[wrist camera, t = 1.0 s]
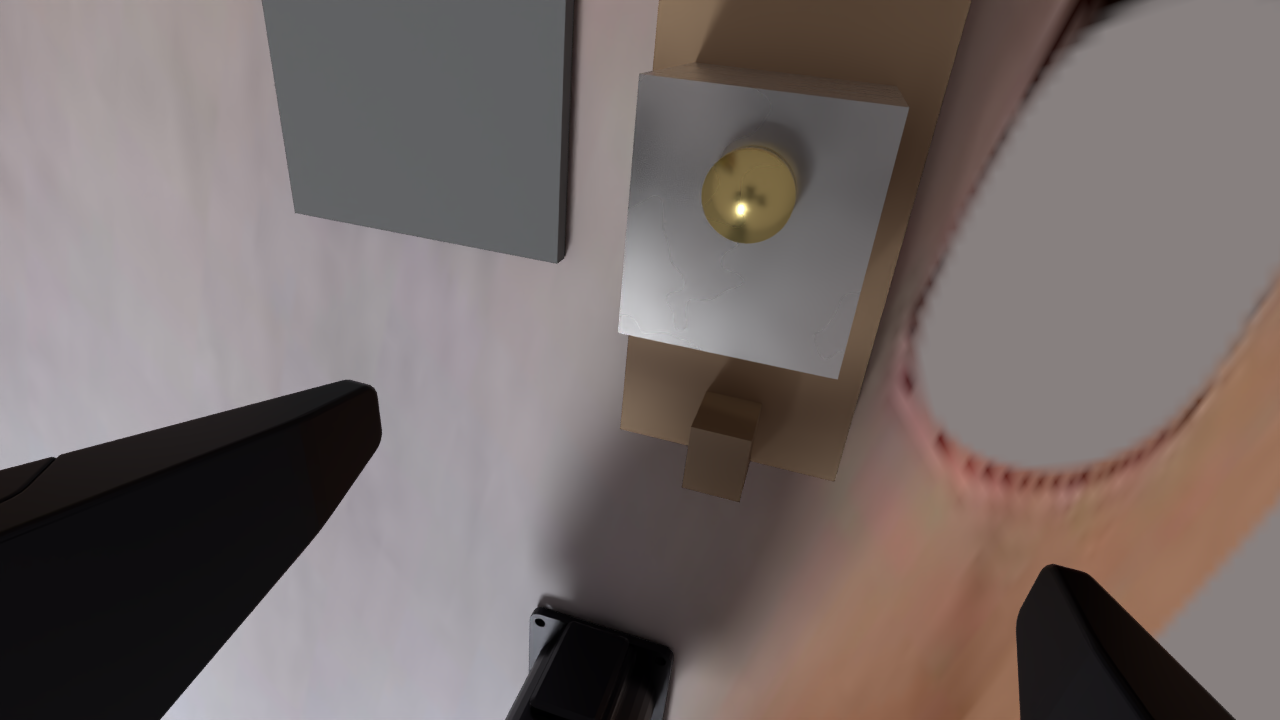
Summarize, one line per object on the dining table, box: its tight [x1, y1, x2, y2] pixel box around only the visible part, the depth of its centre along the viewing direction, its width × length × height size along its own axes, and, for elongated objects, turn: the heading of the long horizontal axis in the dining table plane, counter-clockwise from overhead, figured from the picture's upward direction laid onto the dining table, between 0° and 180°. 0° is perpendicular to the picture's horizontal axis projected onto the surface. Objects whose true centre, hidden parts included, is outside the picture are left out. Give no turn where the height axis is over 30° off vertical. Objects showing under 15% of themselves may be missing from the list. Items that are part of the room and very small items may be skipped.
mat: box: [262, 0, 574, 264], centre depth 20 cm, size 11×10×1 cm
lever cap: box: [618, 62, 909, 380], centre depth 14 cm, size 5×4×5 cm
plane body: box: [620, 0, 971, 502], centre depth 16 cm, size 17×7×5 cm, turn 175°
